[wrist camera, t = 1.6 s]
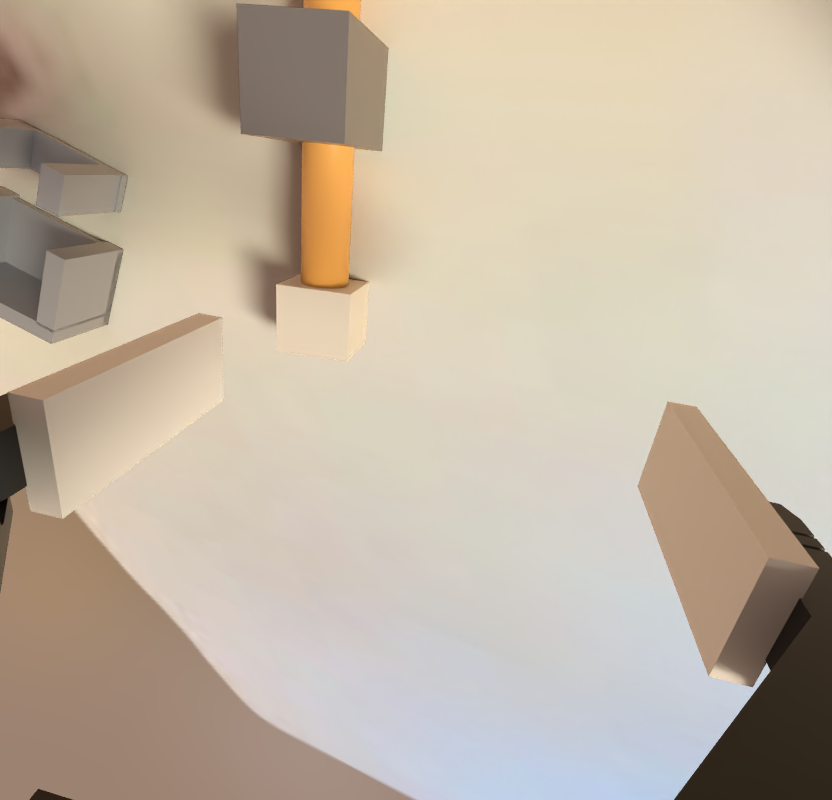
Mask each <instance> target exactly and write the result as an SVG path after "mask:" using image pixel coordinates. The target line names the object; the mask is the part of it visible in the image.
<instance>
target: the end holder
mask: <svg viewBox="0 0 832 800" xmlns="http://www.w3.org/2000/svg"><path fill="white" fill-rule="evenodd" d="M122 254H123V249H121V248H119V247H117V246H116V245H114V244H112V243H110V242H108V241H106V242H102V241H100V240H98V239H96V238H94V237H92V236H91V235H89V234H87V233H85V232H83V231H81V230H79V229H77V228H75V227H73V226H71V225H69V224H68V223H66V222H64V221H62V220H60V219H58V218H56V217H54V216H52V215H50V214H48V213H46V212H44V211H43V210H41V209H39V208H37V207H35V206H33V205H31V204H29V203H27V202H25V201H23V200H21V199H20V198H19V195H18V194H16V193H14V192H12V191H10V190H8V189H6V188H4V187H0V318H2V319H4V320H6V321H8V322H10V323H12V324H14V325H16V326H18V327H20V328H22V329H24V330H26V331H27V332H29V333H31V334H33V335H35V336H37V337H39V338H41V339H43V340H45V341H47V342H49V343H51V344H53V343H56V342H58V341H61V340H64V339H67V338H70V337H73V336H76V335H78V334H81V333H84V332H87V331H90V330H93V329H96V328H98V327H101V326H104V325H107V324H108V321H109V316H110V311H111V307H112V302H113V297H114V292H115V287H116V283H117V278H118V273H119V268H120V263H121V259H122Z"/></svg>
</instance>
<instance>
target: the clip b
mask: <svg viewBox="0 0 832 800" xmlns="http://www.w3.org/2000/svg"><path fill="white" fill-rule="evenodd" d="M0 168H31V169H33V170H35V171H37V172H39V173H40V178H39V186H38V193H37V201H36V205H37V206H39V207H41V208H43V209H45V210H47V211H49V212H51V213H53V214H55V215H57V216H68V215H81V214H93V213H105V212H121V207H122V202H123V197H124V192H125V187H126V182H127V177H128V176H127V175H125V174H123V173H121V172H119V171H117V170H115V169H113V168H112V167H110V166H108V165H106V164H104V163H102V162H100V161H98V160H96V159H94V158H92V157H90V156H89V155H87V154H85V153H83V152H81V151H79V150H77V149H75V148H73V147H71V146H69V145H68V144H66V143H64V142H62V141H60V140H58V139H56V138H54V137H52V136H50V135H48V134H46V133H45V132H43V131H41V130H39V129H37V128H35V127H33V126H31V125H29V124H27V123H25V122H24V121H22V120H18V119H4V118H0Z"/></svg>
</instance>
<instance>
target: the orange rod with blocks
mask: <svg viewBox="0 0 832 800" xmlns="http://www.w3.org/2000/svg"><path fill="white" fill-rule="evenodd" d="M360 8H361V0H303V8H299V7H284V6H268V5H253V4H237V30H238V61H239V91H240V121H241V134H246V135H252V136H259V137H265V138H271V139H278V140H284V141H290V142H297V143H302V214H301V274H299V275H297V276H294V277H292V278H290V279H287V280H285V281H283V282H280V283H278V284H276V326H277V351H281V352H287V353H294V354H300V355H307V356H313V357H319V358H326V359H332V360H339V361H345V362H348V360H349V359H350V358H351V357H352V356H353V355H354V354H355V353H356V352H357V351H358V350H359V349H360V348H361V347H362V346H363V345H364V344H365V343H366V327H367V310H368V293H369V282H366V281H358V280H351V279H349V259H350V236H351V213H352V190H353V168H354V148H355V149H365V150H375V151H382V144H383V128H384V112H385V96H386V80H387V64H388V47H387V46H386V45H385V44H384V43H383V42H382V41H380V40H379V39H378V38H377V37H376V36H375V35H374V34H373V33H372V32H371V31H370V30H369V29H368V28H367V27H366V26H365V25H364V24H363V23H362V22H361V21H360Z"/></svg>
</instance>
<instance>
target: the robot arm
mask: <svg viewBox="0 0 832 800" xmlns="http://www.w3.org/2000/svg"><path fill="white" fill-rule="evenodd" d="M221 401H223V337H222V318H221V317H216V316H211V315H205V314H200V313H198V314H196V315H193V316H191V317H189V318H186V319H184V320H181V321H179V322H176V323H174V324H172V325H169V326H167V327H164V328H162V329H160V330H157V331H155V332H152V333H150V334H148V335H145V336H143V337H140V338H138V339H135V340H133V341H131V342H128V343H126V344H123V345H121V346H119V347H116V348H114V349H111V350H109V351H106V352H104V353H102V354H99V355H97V356H94V357H92V358H90V359H87V360H85V361H82V362H80V363H77V364H75V365H73V366H70V367H68V368H65V369H63V370H61V371H58V372H56V373H53V374H51V375H49V376H46V377H44V378H41V379H39V380H36V381H34V382H32V383H29V384H27V385H24V386H22V387H20V388H17V389H15V390H12V391H10V392H7V394H4V395H2V396H0V590H1V584H2V577H3V571H4V565H5V559H6V552H7V546H8V540H9V533H10V527H11V521H12V513H13V511H12V505H11V500H10V496H11V495H13V494H15V493H16V492H18V491H20V490H21V489H23V488H24V487H26V491H27V496H28V502H29V507H30V511H34V512H37V513H41V514H45V515H49V516H54V517H58V518H62V519H63V518H64V517H65V516H67V515H68V514H70V513H71V512H72V511H74V510H75V509H76V508H78V507H79V506H81V505H82V504H83V503H85V502H86V501H87V500H89V499H90V498H91V497H93V496H94V495H95V494H97V493H98V492H100V491H101V490H102V489H104V488H105V487H106V486H108V485H109V484H110V483H112V482H113V481H114V480H116V479H117V478H118V477H120V476H121V475H123V474H124V473H125V472H127V471H128V470H129V469H131V468H132V467H133V466H135V465H136V464H137V463H139V462H140V461H142V460H143V459H144V458H146V457H147V456H148V455H150V454H151V453H152V452H154V451H155V450H156V449H158V448H159V447H161V446H162V445H163V444H165V443H166V442H167V441H169V440H170V439H171V438H173V437H174V436H175V435H177V434H178V433H179V432H181V431H182V430H184V429H185V428H186V427H188V426H189V425H190V424H192V423H193V422H194V421H196V420H197V419H198V418H200V417H201V416H203V415H204V414H205V413H207V412H208V411H209V410H211V409H212V408H213V407H215V406H216V405H217V404H219V403H220V402H221ZM638 488H639V491H640V493H641V496H642V499H643V501H644V504H645V507H646V510H647V512H648V515H649V518H650V520H651V523H652V526H653V528H654V531H655V534H656V536H657V539H658V542H659V544H660V547H661V550H662V552H663V555H664V558H665V560H666V563H667V566H668V568H669V571H670V574H671V577H672V579H673V582H674V585H675V587H676V590H677V593H678V595H679V598H680V601H681V603H682V606H683V609H684V611H685V614H686V617H687V619H688V622H689V625H690V627H691V630H692V633H693V635H694V638H695V641H696V644H697V646H698V649H699V652H700V654H701V657H702V660H703V662H704V665H705V668H706V670H707V673H708V676H709V677H713V678H717V679H721V680H725V681H729V682H734V683H738V684H742V685H746V686H750V687H753V686H754V684H755V682H756V681H757V679H758V677H759V675H760V673H761V672H762V670H763V668H764V666H765V665H766V663H767V664H768V666H769V668H770V670H771V671H770V673H769V674H768V675H767V677H766V678H765V679H764V681H763V682H762V683H761V684H760V686H759V687H758V688H757V690H756V691H755V692H754V694H753V695H752V696H751V698H750V699H749V700H748V702H747V703H746V704H745V706H744V707H743V708H742V710H741V711H740V712H739V714H738V715H737V716H736V718H735V719H734V720H733V722H732V723H731V724H730V726H729V727H728V728H727V730H726V731H725V732H724V734H723V735H722V736H721V738H720V739H719V740H718V742H717V743H716V744H715V746H714V747H713V748H712V750H711V751H710V752H709V754H708V755H707V756H706V758H705V759H704V760H703V762H702V763H701V764H700V766H699V767H698V768H697V770H696V771H695V772H694V774H693V775H692V776H691V778H690V779H689V780H688V782H687V783H686V784H685V786H684V787H683V788H682V790H681V791H680V792H679V794H678V795H677V796H676V798H675V799H674V800H832V557H831V556H830V555H829V553H828V552H824V550H825V549H824V547H823V546H822V545H821V544H820V542H819V541H818V540H817V539H815V538H814V535H813V534H812V533H811V531H810V530H809V529H808V528H807V526H806V525H805V524H804V523H803V522H802V520H801V519H799V518H798V517H797V516H795V515H794V514H793V513H791V512H790V511H789V510H787V509H786V508H784V507H783V506H782V505H780V504H777V503H772V502H769V501H768V500H767V499H766V497H765V496H764V495H763V494H762V492H761V491H760V490H759V488H758V487H757V486H756V484H755V483H754V482H753V480H752V479H751V478H750V476H749V475H748V474H747V473H746V471H745V470H744V469H743V467H742V466H741V465H740V463H739V462H738V461H737V459H736V458H735V457H734V455H733V454H732V453H731V451H730V450H729V449H728V448H727V446H726V445H725V444H724V442H723V441H722V440H721V438H720V437H719V436H718V434H717V433H716V432H715V430H714V429H713V428H712V427H711V425H710V424H709V423H708V421H707V420H706V419H705V417H704V416H703V415H702V413H701V412H700V411H699V409H698V408H697V407H694V406H689V405H684V404H678V403H673V402H667V405H666V408H665V411H664V414H663V416H662V419H661V422H660V425H659V428H658V430H657V433H656V436H655V439H654V442H653V444H652V447H651V450H650V453H649V456H648V458H647V461H646V464H645V467H644V470H643V473H642V475H641V478H640V481H639V484H638ZM30 800H72V799H69V798H66V797H62V796H59V795H56V794H53V793H50V792H46V791H43V790H40V789H38V790H37V791H36V792H35V793H34V795H33V796H32V797H31V799H30Z"/></svg>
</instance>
